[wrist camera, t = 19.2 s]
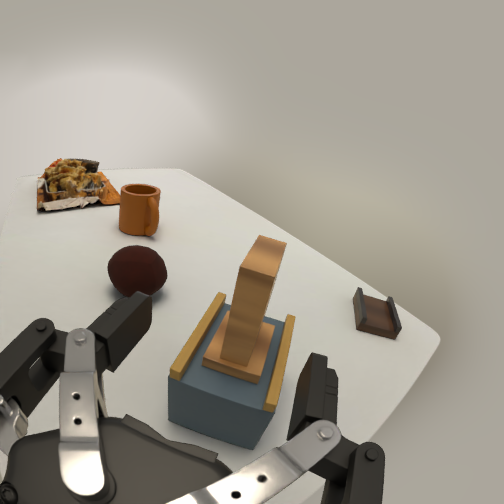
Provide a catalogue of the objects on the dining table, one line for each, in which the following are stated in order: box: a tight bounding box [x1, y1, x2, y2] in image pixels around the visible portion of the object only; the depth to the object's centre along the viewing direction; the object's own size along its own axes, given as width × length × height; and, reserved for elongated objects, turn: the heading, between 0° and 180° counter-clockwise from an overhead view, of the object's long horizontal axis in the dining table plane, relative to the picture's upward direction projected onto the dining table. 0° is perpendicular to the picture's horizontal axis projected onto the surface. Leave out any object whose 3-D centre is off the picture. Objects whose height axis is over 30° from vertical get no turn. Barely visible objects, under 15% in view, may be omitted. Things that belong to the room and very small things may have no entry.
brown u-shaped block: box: [353, 287, 402, 339], centre depth 48 cm, size 10×8×3 cm
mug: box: [119, 184, 161, 236], centre depth 58 cm, size 9×12×9 cm
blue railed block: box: [168, 292, 295, 450], centre depth 27 cm, size 12×9×9 cm
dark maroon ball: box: [108, 245, 167, 297], centre depth 40 cm, size 8×9×8 cm
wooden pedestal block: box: [202, 235, 287, 384], centre depth 23 cm, size 7×5×10 cm
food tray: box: [37, 158, 120, 211], centre depth 72 cm, size 35×26×11 cm
